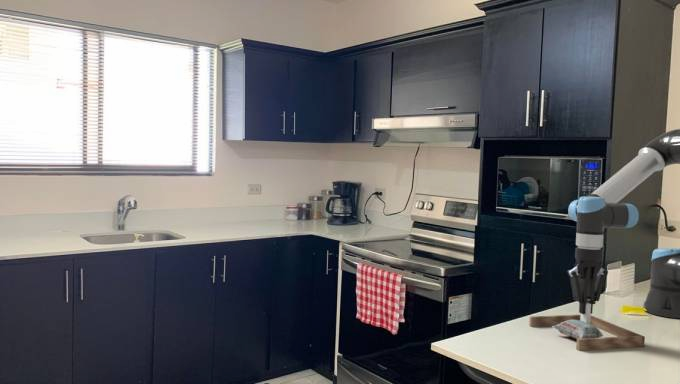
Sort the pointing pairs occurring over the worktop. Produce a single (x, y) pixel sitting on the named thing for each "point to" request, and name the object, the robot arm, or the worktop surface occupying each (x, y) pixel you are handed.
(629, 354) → the worktop surface
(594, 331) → the packaged food
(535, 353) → the worktop surface
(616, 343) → the wooden frame
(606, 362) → the worktop surface
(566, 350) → the worktop surface
